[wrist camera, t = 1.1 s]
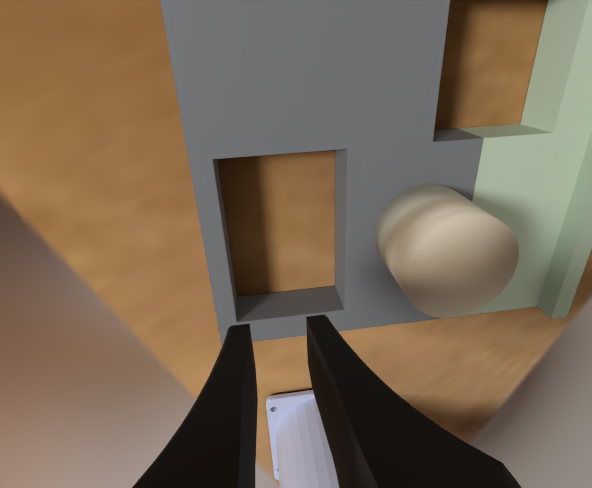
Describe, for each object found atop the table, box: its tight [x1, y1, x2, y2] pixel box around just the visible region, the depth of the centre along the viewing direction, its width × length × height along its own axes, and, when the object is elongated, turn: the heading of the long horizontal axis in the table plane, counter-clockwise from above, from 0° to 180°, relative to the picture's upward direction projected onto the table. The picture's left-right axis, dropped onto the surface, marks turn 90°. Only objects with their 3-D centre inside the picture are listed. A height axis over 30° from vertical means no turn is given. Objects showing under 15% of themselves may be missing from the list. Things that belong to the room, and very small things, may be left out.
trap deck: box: [160, 0, 592, 346], centre depth 19 cm, size 17×20×4 cm
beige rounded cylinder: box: [375, 184, 519, 318], centre depth 18 cm, size 5×5×4 cm
